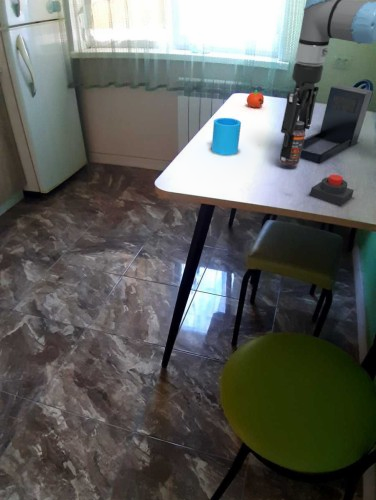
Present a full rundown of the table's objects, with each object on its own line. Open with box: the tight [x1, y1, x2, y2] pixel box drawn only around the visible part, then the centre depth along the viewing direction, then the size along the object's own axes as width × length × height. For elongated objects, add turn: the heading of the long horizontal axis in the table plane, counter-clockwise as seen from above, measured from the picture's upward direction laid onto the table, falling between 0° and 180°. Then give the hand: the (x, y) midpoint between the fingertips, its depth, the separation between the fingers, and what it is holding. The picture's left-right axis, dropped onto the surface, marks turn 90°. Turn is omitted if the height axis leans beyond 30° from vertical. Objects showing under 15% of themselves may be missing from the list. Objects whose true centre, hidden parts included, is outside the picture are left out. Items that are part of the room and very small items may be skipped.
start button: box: [327, 174, 344, 186], centre depth 108 cm, size 4×4×2 cm
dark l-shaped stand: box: [300, 84, 374, 164], centre depth 134 cm, size 12×28×16 cm, turn 140°
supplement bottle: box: [279, 119, 306, 166], centre depth 121 cm, size 6×6×11 cm
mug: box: [211, 117, 242, 156], centre depth 132 cm, size 13×9×9 cm
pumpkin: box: [246, 89, 265, 108], centre depth 170 cm, size 7×8×6 cm
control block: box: [309, 176, 355, 207], centre depth 110 cm, size 9×7×4 cm
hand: (290, 154), depth 123 cm, fingers closed on supplement bottle, 6 cm apart
